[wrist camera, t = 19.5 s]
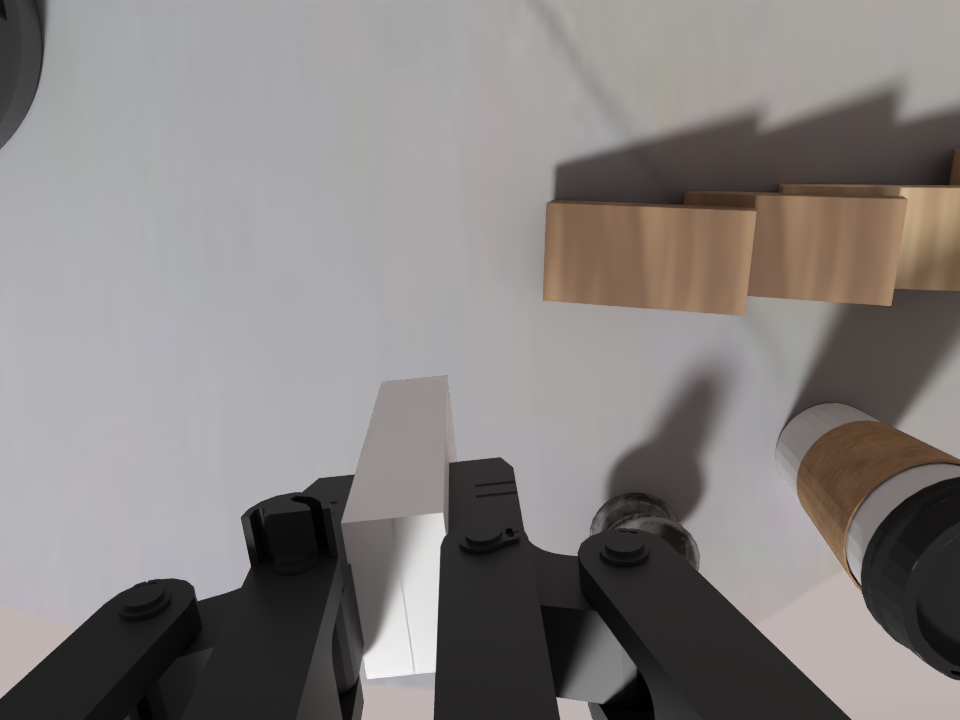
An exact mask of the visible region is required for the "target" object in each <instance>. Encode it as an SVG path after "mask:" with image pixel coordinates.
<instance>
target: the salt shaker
mask: <svg viewBox="0 0 960 720" xmlns="http://www.w3.org/2000/svg"><path fill="white" fill-rule="evenodd" d="M617 528H627V529H630V528H633V529H639V530H643V531H646V532H649V533H653V534H656V535H657V536H659V537H660V538H662V539H664V540H665V541H667V542H668V543H669V544H670V545H671V546H672V547H673V548H674V549H675V550H676V551H677V552H678V553H679V554H680V555H681V556H682V557H683V558H684V559H685V560H686V561H688V562H689V563H690V564H691V565H692V566H693V567H694V568H695V569H696V570H697V571H698V570H699V559H700V555H699V551H698V547H697V544H696V542H695V541H694V539H693V537H692V536H691V534H690V533H689V532H688V531H687V530H686V529H685V528H683V527H682V526H681V525H680V524H678V523H676V520H675V516H674V515H673V513H672V512H671V510H670V508H669V507H668V506H667V505H666V504H665V503H664V502H662V501H661V500H660V499H658V498H656V497H654V496H651V495H647V494H642V493H632V494H625V495H622V496H619V497H616V498H614V499H613V500H611V501H609V502H607V503H606V504H605V505H604V506H603V507H602V508H601V509H600V510H599V511H598V513H597V514H596V516H595V517H594V519H593V521H592V525H591V528H590V536H592V535H594V534H597V533H600V532H603V531H605V530H613V529H617Z"/></svg>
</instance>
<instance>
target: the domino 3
mask: <svg viewBox="0 0 960 720" xmlns="http://www.w3.org/2000/svg"><path fill="white" fill-rule="evenodd" d="M949 185H960V149H954V153H953V159H952V166H951V172H950V178H949Z"/></svg>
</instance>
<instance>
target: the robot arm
mask: <svg viewBox="0 0 960 720" xmlns="http://www.w3.org/2000/svg"><path fill="white" fill-rule="evenodd" d="M40 63H41V31H40V23H39V17H38V11H37V6H36V3H35V0H0V149H1V148H2V147H3V146H4V145H5V144H6V143H7V141H8V140H9V139H10V138H11V137H12V136H13V134H14V133H15V132H16V130H17V129H18V127H19V126H20V124H21V123H22V121H23V119H24V117H25V115H26V114H27V112H28V109H29V107H30V105H31V102H32V100H33V97H34V94H35V90H36V86H37V82H38V78H39V72H40ZM241 521H242V526H243V530H244V535H245V540H246V545H247V549H248V554H249V559H250V564H251V568H250V570H249V572H248V575H247V577H246V579H245V581H244V583H243V585H242V587H241V588H239V589H236V590H234V591H231V592H228V593H225V594H222V595H218V596H215V597H211V598H208V599H204V600H201V601H197V598H196V594H195V590H194V587H193V586H192V585H191V584H190V583H188V582H187V581H185V580H179V579H174V578H171V579H154V580H149V581H148V582H146V581H145V582H142V583H139V584H136V585H135V586H133V587H132V588H130V589H127V590H125V591H123V592H121V593H119V594H118V595H116V596H115V597H114V598H112V599H111V600H109V601H108V602H107V603H105V604H104V605H103V606H102V607H101V608H100V609H99V610H98V611H96V612H95V613H94V614H93V615H92V616H91V617H90V618H89V619H88V620H87V621H85V622H84V623H83V624H82V625H81V626H80V627H79V628H78V629H77V630H76V631H74V632H73V633H72V634H71V635H70V636H69V637H68V638H67V639H66V640H65V641H64V642H62V643H61V644H60V645H59V646H58V647H57V648H56V649H55V650H54V651H53V652H51V653H50V654H49V655H48V656H47V657H46V658H45V659H44V660H43V661H42V662H40V663H39V664H38V665H37V666H36V667H35V668H34V669H33V670H32V671H31V672H29V673H28V674H27V675H26V676H25V677H24V678H23V679H22V680H21V681H20V682H18V683H17V684H16V685H15V686H14V687H13V688H12V689H11V690H10V691H9V692H7V693H6V695H4V696H3V697H2V698H1V699H0V720H361V716H362V710H363V704H364V701H363V694H362V686H361V681H360V675H359V671H360V665H361V660H362V654H363V657H364V663H365V669H366V675H367V679H373V678H383V677H392V676H402V675H411V674H421V673H431V672H436V675H435V701H434V720H560V716H559V711H558V705H557V700H556V697H560V698H566V699H573V700H580V701H587V702H588V706H589V709H590V712H591V716H592V719H593V720H851V719H850V718H849V717H848V716H847V715H846V714H845V713H844V712H843V711H842V710H841V709H840V708H839V707H838V706H837V705H836V704H835V703H834V702H833V701H832V700H831V699H830V698H828V697H827V696H826V695H825V694H824V693H823V692H822V691H821V690H820V689H819V688H818V687H817V686H816V685H815V684H814V683H813V682H812V681H811V680H810V679H809V678H808V677H806V675H805V674H804V673H803V672H802V671H800V669H798V668H797V667H796V666H795V665H794V664H793V663H792V662H791V661H790V660H789V659H788V658H787V657H786V656H785V655H784V654H783V653H782V652H781V651H780V650H779V649H778V648H777V647H776V646H775V645H774V644H773V643H772V642H770V641H769V640H768V639H767V638H766V637H765V636H764V635H763V634H762V633H761V632H760V631H759V630H758V629H757V628H756V627H755V626H754V625H753V624H752V623H751V622H750V621H749V620H748V619H747V618H746V617H745V616H744V615H742V614H741V613H740V612H739V611H738V610H737V609H736V608H735V607H734V606H733V605H732V604H731V603H730V602H729V601H728V600H727V599H726V598H725V597H724V596H723V595H722V594H721V593H720V592H719V591H718V590H717V589H716V588H714V587H713V586H712V585H711V584H710V583H709V582H708V581H707V580H706V579H705V578H704V577H703V576H702V575H701V574H700V573H699V572H698V571H697V570H696V569H695V568H694V567H693V566H692V565H691V564H690V563H689V562H688V561H686V560H685V559H684V558H683V557H682V556H681V555H680V554H679V553H678V552H677V551H676V550H675V549H674V548H673V547H672V546H671V545H670V544H669V543H668V542H667V541H665V540H664V539H662V538H660V537H659V536H657V535H656V534H653V533H649V532H646V531H643V530H639V529H633V528H630V529H627V528H617V529H613V530H605V531H603V532H600V533H597V534H594V535H592V536H590V537H589V538H588V539H586V540H585V541H584V542H583V543H581V545H580V548H579V551H578V556H569V555H561V554H555V553H551V552H548V551H545V550H542V549H540V548H538V547H536V546H535V545H533V544H532V543H531V542H530V541H529V540H528V536H527V535H526V533H525V531H524V527H523V521H522V515H521V510H520V504H519V498H518V493H517V487H516V482H515V475H514V470H513V467H512V466H511V465H509V464H508V463H507V462H506V461H504V460H503V459H502V458H501V457H499V458H490V459H480V460H471V461H461V462H457V456H456V447H455V439H454V430H453V422H452V413H451V404H450V396H449V387H448V379H447V375H444V376H435V377H425V378H415V379H406V380H396V381H386V382H382V383H381V386H380V390H379V393H378V397H377V400H376V404H375V407H374V410H373V414H372V417H371V421H370V424H369V428H368V431H367V435H366V438H365V442H364V445H363V449H362V452H361V455H360V459H359V462H358V466H357V469H356V473H355V475H346V476H336V477H327V478H319V479H318V480H316V481H315V482H314V483H313V484H312V485H310V486H309V487H308V488H307V489H306V490H304V491H303V492H294V493H289V494H284V495H278V496H275V497H272V498H270V499H267V500H264V501H261V502H260V503H258V504H256V505H255V506H253V507H251V508H249V509H248V510H247V511H246V512H245V513H244V515H243V516H242V517H241Z"/></svg>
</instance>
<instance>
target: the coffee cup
mask: <svg viewBox="0 0 960 720" xmlns="http://www.w3.org/2000/svg"><path fill="white" fill-rule="evenodd" d="M776 464H777V468H778V471H779V473H780V475H781V477H782V478H783V480H784V481H785V483H786V484H787V486H788V487H789V488H790V490H791V491H792V492H793V494H794V495H795V497H796V498H797V499H798V501H799V502H800V503H801V505H802V507H803V508H804V510H805V511H806V513H807V514H808V516H809V517H810V519H811V520H812V522H813V523H814V525H815V526H816V528H817V529H818V531H819V532H820V534H821V535H822V536H823V538H824V539H825V541H826V542H827V544H828V545H829V547H830V548H831V550H832V551H833V553H834V554H835V556H836V557H837V559H838V560H839V562H840V563H841V565H842V566H843V567H844V569H845V570H846V572H847V573H848V575H849V576H850V578H851V579H852V581H853V582H854V584H855V585H856V586H857V587H858V588H859V589H860V590H861V591H862V594H863V597H864V600H865V603H866V605H867V608H868V610H869V611H870V612H871V614H872V616H873V617H874V619H875V620H876V621H877V622H878V623H879V624H880V625H881V626H882V627H883V629H884V630H885V631H886V632H887V633H888V634H889V635H890V636H891V637H892V638H893V639H894V640H895V641H897V642H898V643H900V644H902V645H904V646H905V647H907V648H908V649H910V650H911V651H912V652H913V653H915V654H916V655H917V656H918V657H919V658H921V659H922V660H923V661H924V662H926V663H927V664H928V665H930V666H931V667H933V668H934V669H936V670H937V671H939V672H941V673H943V674H944V675H946V676H948V677H950V678H952V679H955V680H960V460H959V459H957V458H955V457H953V456H951V455H949V454H947V453H945V452H943V451H941V450H939V449H937V448H935V447H933V446H931V445H929V444H926V443H924V442H922V441H920V440H918V439H916V438H914V437H912V436H910V435H908V434H906V433H904V432H902V431H900V430H898V429H896V428H894V427H892V426H889V425H886V424H884V423H882V422H880V421H878V420H877V419H875V418H873V417H871V416H869V415H867V414H865V413H864V412H862V411H860V410H858V409H856V408H853V407H851V406H848V405H845V404H839V403H825V404H820V405H816V406H813V407H811V408H808V409H806V410H804V411H803V412H801V413H800V414H798V415H797V416H796V417H794V418H793V419H792V420H791V421H790V422H789V423H788V425H787V426H786V427H785V428H784V430H783V432H782V434H781V435H780V437H779V440H778V443H777V447H776Z"/></svg>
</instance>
